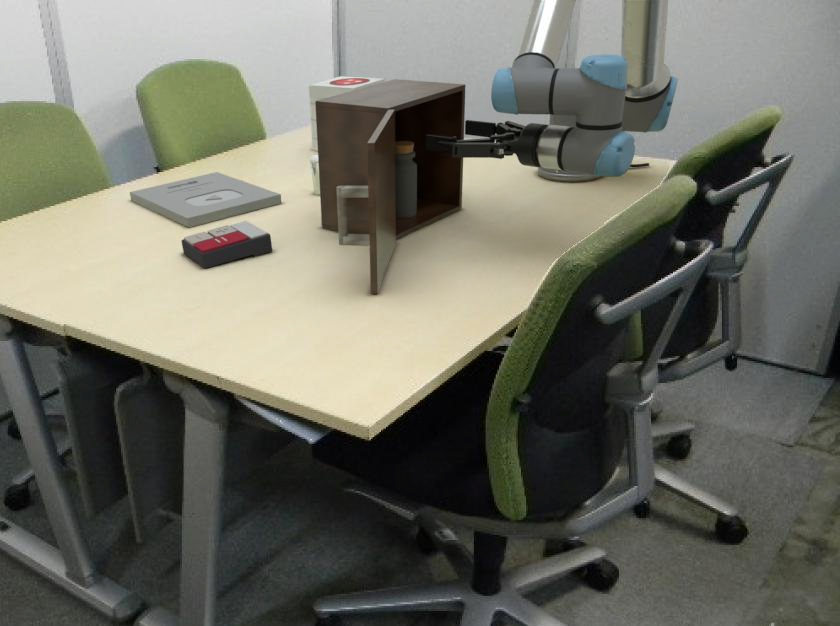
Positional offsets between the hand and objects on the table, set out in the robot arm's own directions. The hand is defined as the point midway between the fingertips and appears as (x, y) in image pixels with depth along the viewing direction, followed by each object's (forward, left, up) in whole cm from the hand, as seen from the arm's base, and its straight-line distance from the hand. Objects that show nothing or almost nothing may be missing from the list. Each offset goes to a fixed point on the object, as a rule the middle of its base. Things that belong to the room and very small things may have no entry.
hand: (446, 134), depth 167 cm
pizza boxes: (+16, -68, -19) cm, 73 cm away
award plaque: (+54, -27, -19) cm, 64 cm away
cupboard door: (+16, +21, -19) cm, 33 cm away
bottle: (+8, -7, -18) cm, 21 cm away
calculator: (+44, +10, -19) cm, 49 cm away
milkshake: (+26, -30, -19) cm, 44 cm away
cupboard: (+10, -7, -19) cm, 23 cm away
